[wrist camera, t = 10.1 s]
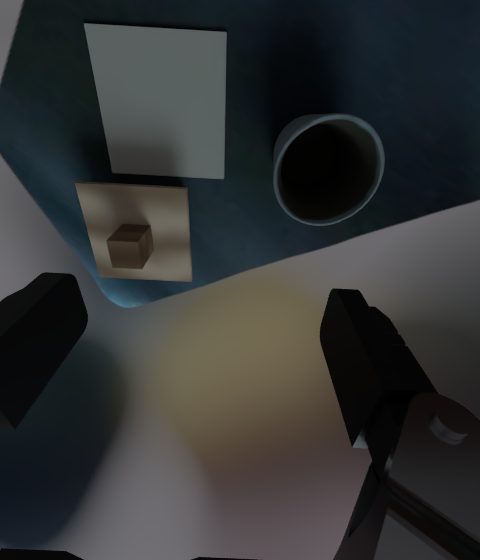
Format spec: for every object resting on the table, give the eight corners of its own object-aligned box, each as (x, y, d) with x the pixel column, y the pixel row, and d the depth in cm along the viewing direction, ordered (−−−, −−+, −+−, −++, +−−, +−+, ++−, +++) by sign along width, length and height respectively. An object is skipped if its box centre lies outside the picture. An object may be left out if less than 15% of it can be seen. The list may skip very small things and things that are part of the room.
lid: (78, 181, 33) (49, 195, 28) (187, 187, 33) (177, 202, 28) (102, 274, 40) (82, 298, 35) (192, 278, 40) (184, 303, 35)
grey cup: (359, 123, 34) (407, 133, 24) (325, 202, 39) (352, 237, 29) (281, 98, 33) (296, 96, 23) (256, 183, 38) (260, 212, 28)
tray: (85, 24, 29) (83, 23, 29) (226, 32, 30) (226, 32, 29) (113, 172, 38) (112, 172, 37) (224, 178, 38) (223, 179, 37)
